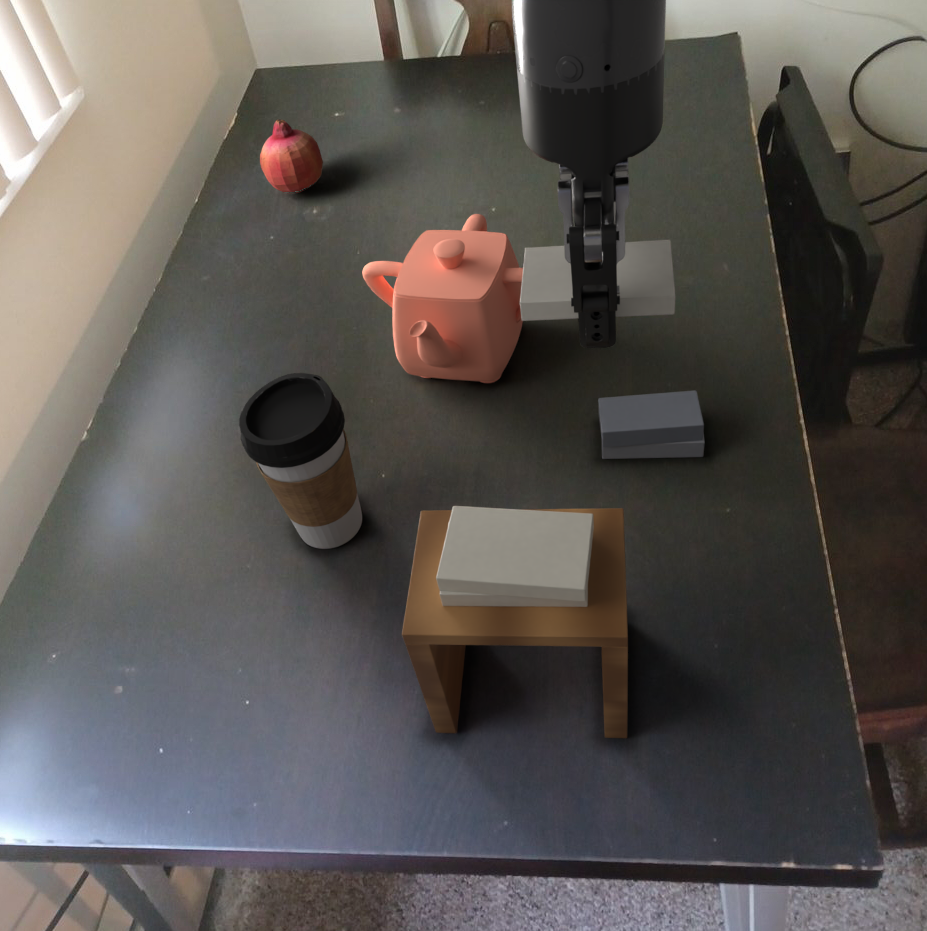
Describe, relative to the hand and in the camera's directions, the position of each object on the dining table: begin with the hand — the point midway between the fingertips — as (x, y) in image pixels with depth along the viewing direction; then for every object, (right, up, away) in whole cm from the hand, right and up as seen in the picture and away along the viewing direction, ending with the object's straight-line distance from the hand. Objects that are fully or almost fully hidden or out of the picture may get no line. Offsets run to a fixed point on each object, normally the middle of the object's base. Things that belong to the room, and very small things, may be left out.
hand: (598, 310), depth 58 cm
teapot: (-9, +1, +37) cm, 38 cm away
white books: (-5, -17, +1) cm, 17 cm away
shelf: (-3, -26, +11) cm, 28 cm away
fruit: (-31, +27, +63) cm, 75 cm away
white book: (0, +1, -1) cm, 2 cm away
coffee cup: (-21, -15, +24) cm, 35 cm away
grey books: (+9, -8, +25) cm, 28 cm away
